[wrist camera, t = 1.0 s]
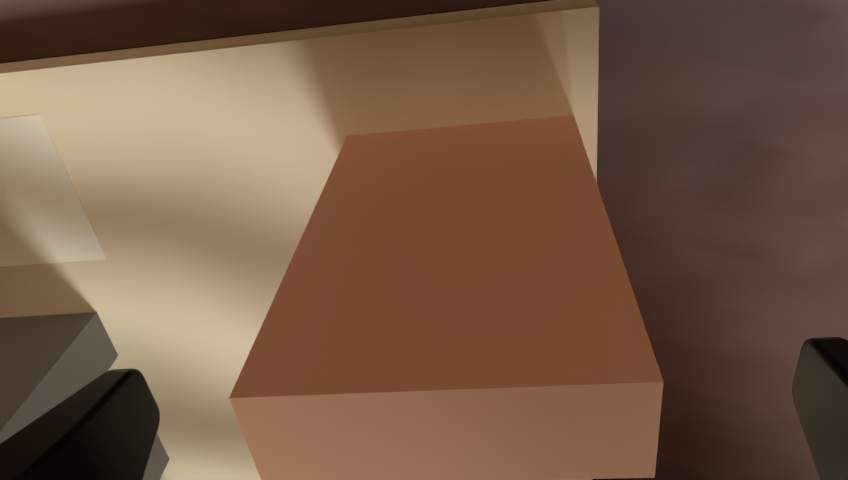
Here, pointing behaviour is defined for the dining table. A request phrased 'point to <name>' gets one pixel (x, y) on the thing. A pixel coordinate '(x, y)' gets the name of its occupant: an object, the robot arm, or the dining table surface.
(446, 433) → the end tile
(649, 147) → the dining table surface
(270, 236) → the domino board
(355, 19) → the dining table surface
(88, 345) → the domino
